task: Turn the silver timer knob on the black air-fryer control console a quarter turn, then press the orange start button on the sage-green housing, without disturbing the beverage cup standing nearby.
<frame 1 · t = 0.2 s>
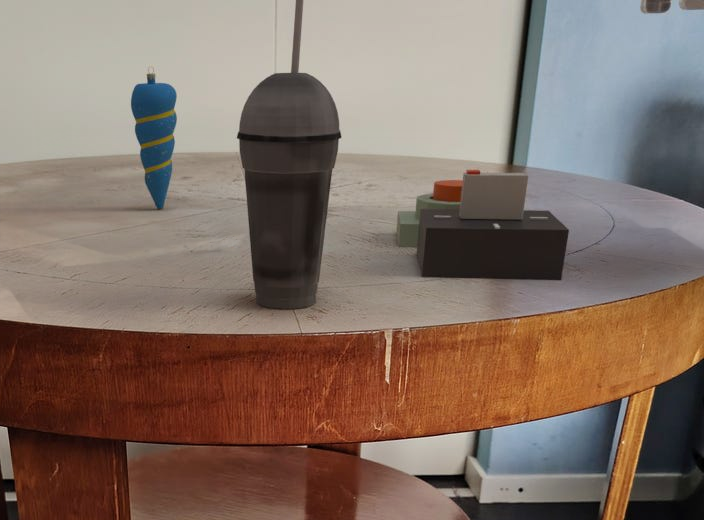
hand: (673, 11, 63), 19 cm above the table, tool pointing down, fingers open, 8 cm apart
start button: (454, 192, 85), point 4 cm above the table, slide at 0.1 cm
ornament: (158, 211, 105), on the table
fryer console: (484, 267, 77), on the table
beverage cup: (285, 303, 68), on the table
timer knob: (493, 194, 74), point 6 cm above the table, hinge at 0.0°
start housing: (449, 241, 87), on the table
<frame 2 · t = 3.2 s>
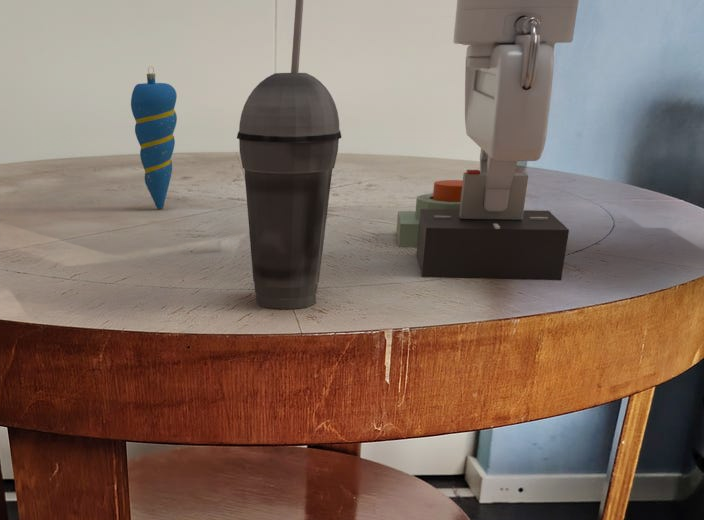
hand: (491, 207, 75), 5 cm above the table, tool pointing down, fingers closed on timer knob
timer knob: (493, 194, 74), point 6 cm above the table, hinge at 0.0°, touching gripper
everything else where it was.
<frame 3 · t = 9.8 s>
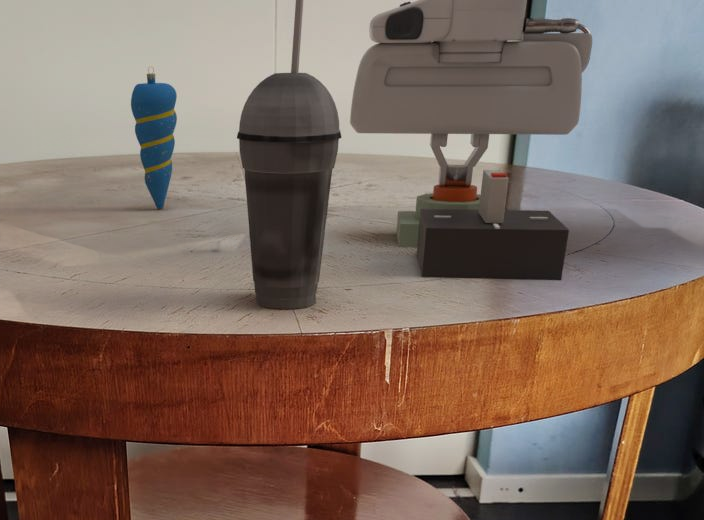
hand: (454, 185, 85), 5 cm above the table, tool pointing down, fingers closed, pressing on start button
start button: (454, 196, 85), point 4 cm above the table, slide at -0.2 cm, touching gripper
timer knob: (493, 194, 74), point 6 cm above the table, hinge at 90.1°
everything else where it was.
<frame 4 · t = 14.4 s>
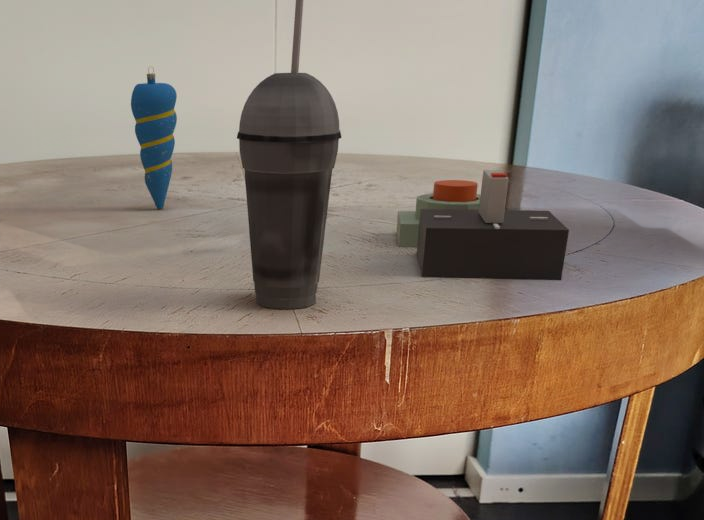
start button: (454, 192, 85), point 4 cm above the table, slide at 0.1 cm
everything else where it was.
at the end: timer knob at +90° (first picture: +0°); start button pushed in 1.1 cm at the most during the clip, back to where it started at the end; beverage cup moved 0.2 cm from its start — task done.
